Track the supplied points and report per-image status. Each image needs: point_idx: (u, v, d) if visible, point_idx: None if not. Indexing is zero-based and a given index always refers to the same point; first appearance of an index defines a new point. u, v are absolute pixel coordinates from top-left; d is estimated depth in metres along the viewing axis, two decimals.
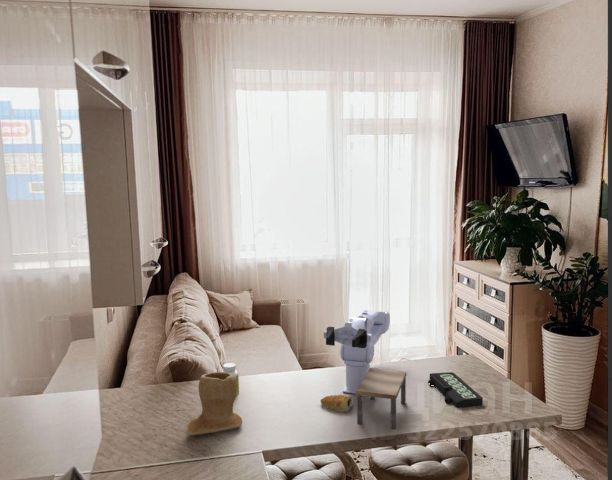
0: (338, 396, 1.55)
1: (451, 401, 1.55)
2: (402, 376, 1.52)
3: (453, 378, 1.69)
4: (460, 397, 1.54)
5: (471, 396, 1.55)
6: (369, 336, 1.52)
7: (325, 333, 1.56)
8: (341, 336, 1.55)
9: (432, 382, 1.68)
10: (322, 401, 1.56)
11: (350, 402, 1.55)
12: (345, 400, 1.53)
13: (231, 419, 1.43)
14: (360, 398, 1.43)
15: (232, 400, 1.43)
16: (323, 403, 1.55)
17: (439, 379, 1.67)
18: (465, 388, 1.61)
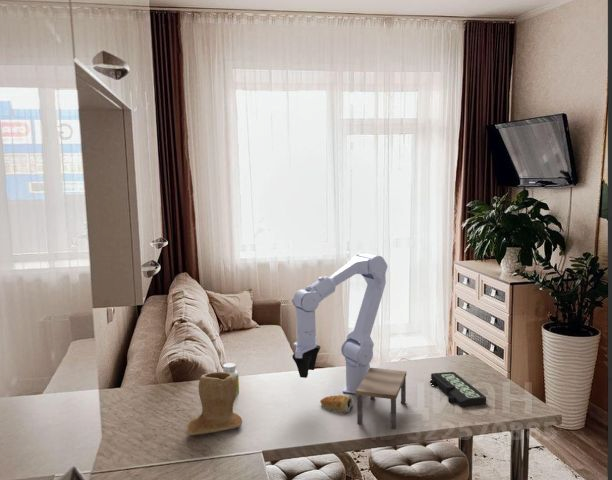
0: (338, 396, 1.54)
1: (455, 401, 1.56)
2: (402, 376, 1.52)
3: (454, 378, 1.69)
4: (464, 397, 1.55)
5: (475, 395, 1.56)
6: None
7: None
8: None
9: (434, 382, 1.68)
10: (322, 402, 1.55)
11: (350, 402, 1.55)
12: (345, 400, 1.52)
13: (231, 419, 1.43)
14: (360, 398, 1.43)
15: (232, 400, 1.43)
16: (323, 404, 1.55)
17: (441, 379, 1.67)
18: (468, 387, 1.62)
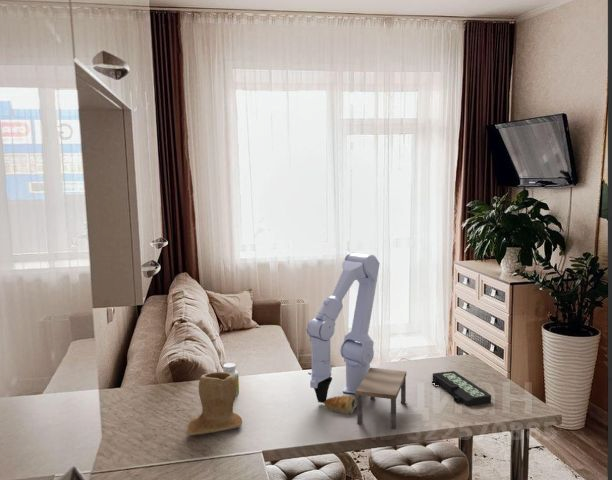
0: (342, 397, 1.53)
1: (461, 400, 1.56)
2: (402, 376, 1.52)
3: (456, 377, 1.70)
4: (470, 396, 1.55)
5: (479, 394, 1.57)
6: None
7: None
8: None
9: (436, 382, 1.68)
10: (326, 403, 1.54)
11: (354, 403, 1.54)
12: (350, 401, 1.51)
13: (231, 419, 1.43)
14: (360, 398, 1.43)
15: (232, 400, 1.43)
16: (327, 405, 1.53)
17: (444, 379, 1.67)
18: (471, 386, 1.62)
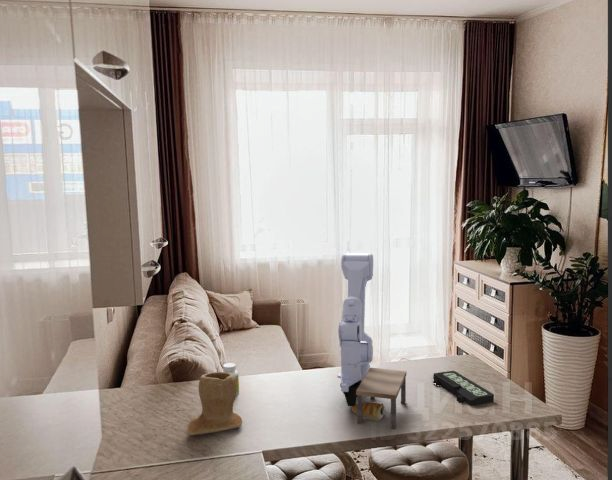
0: (370, 403, 1.49)
1: (464, 400, 1.56)
2: (402, 376, 1.52)
3: (457, 377, 1.70)
4: (473, 395, 1.55)
5: (482, 393, 1.57)
6: None
7: None
8: None
9: (438, 382, 1.69)
10: (354, 408, 1.50)
11: (383, 410, 1.50)
12: (378, 408, 1.47)
13: (231, 419, 1.43)
14: (360, 398, 1.43)
15: (232, 400, 1.43)
16: (355, 410, 1.50)
17: (445, 378, 1.68)
18: (473, 386, 1.63)
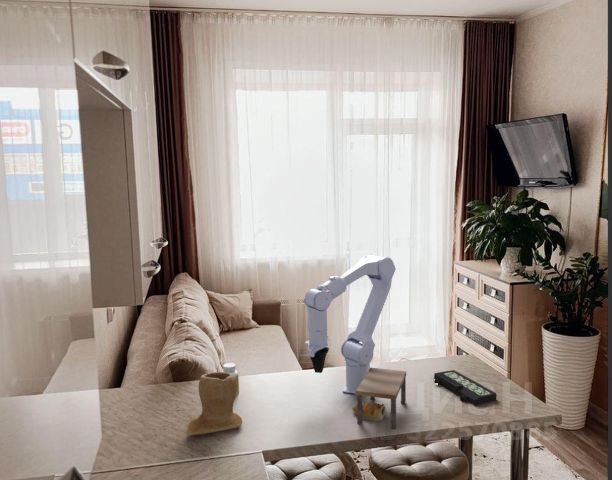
0: (371, 404, 1.49)
1: (467, 399, 1.56)
2: (402, 376, 1.52)
3: (457, 376, 1.71)
4: (476, 394, 1.56)
5: (485, 392, 1.58)
6: None
7: None
8: None
9: (439, 382, 1.69)
10: (354, 409, 1.50)
11: (384, 410, 1.49)
12: (379, 408, 1.47)
13: (231, 419, 1.43)
14: (360, 398, 1.43)
15: (232, 400, 1.43)
16: (356, 411, 1.49)
17: (446, 378, 1.68)
18: (475, 385, 1.63)
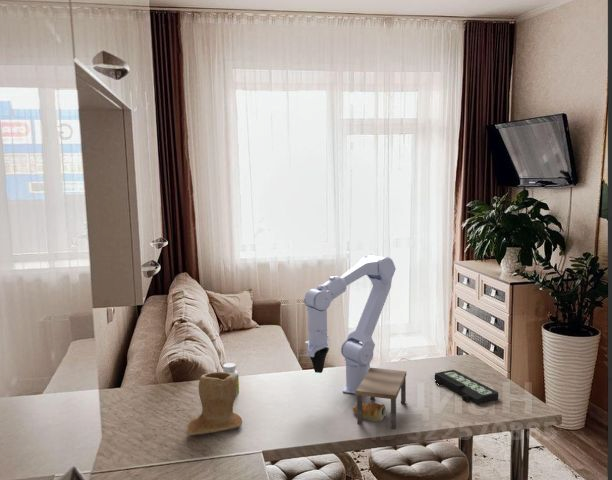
0: (371, 404, 1.49)
1: (470, 399, 1.57)
2: (402, 376, 1.52)
3: (458, 376, 1.71)
4: (478, 394, 1.56)
5: (487, 392, 1.58)
6: None
7: None
8: None
9: (440, 381, 1.69)
10: (354, 410, 1.49)
11: (384, 410, 1.49)
12: (379, 409, 1.46)
13: (231, 419, 1.43)
14: (360, 398, 1.43)
15: (232, 400, 1.43)
16: (356, 412, 1.49)
17: (447, 378, 1.68)
18: (476, 384, 1.64)
